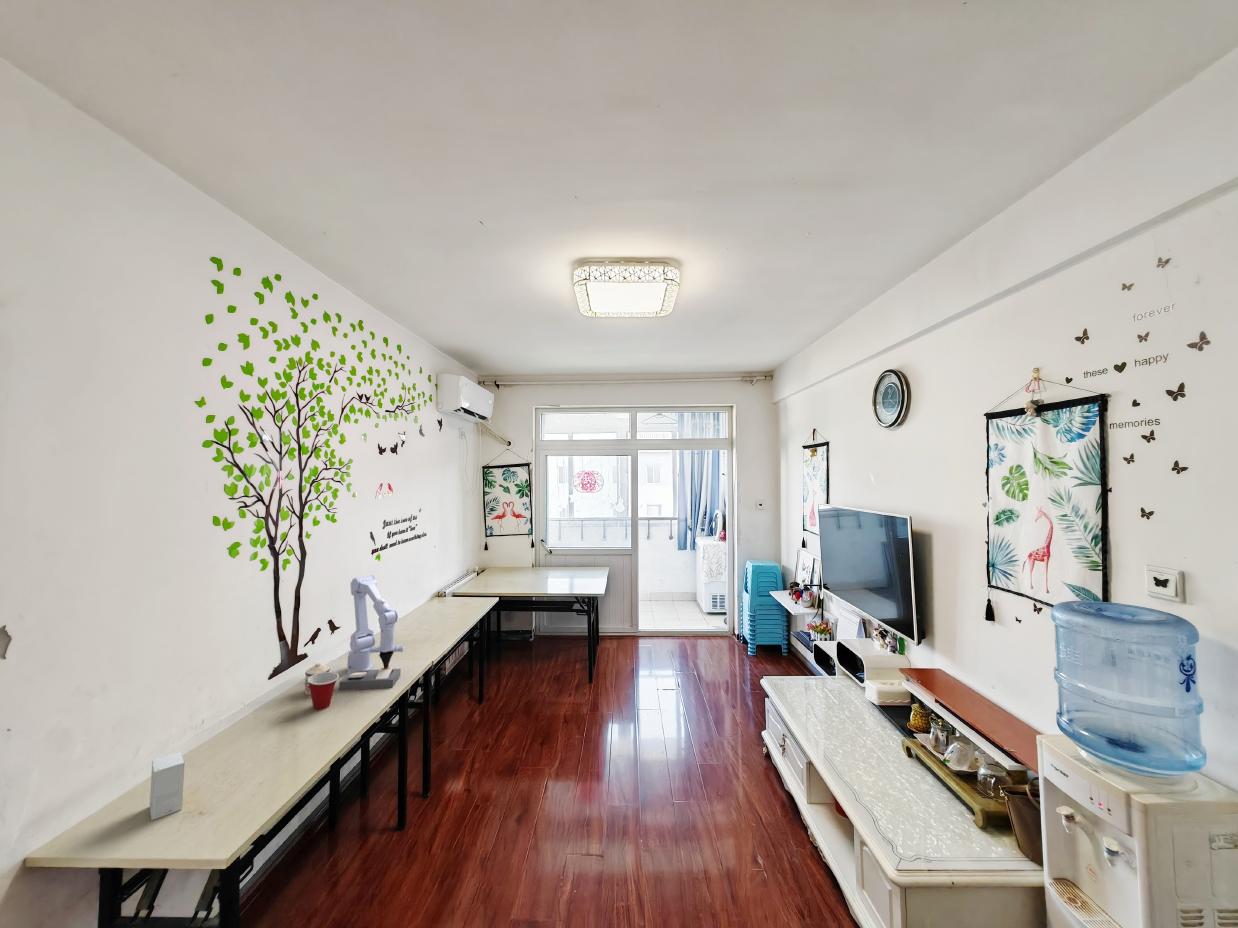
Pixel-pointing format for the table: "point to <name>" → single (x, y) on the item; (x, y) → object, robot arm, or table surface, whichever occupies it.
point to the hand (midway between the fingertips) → (386, 667)
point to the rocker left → (357, 674)
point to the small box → (166, 785)
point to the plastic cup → (322, 689)
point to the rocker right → (384, 673)
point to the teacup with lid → (311, 671)
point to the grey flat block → (369, 680)
